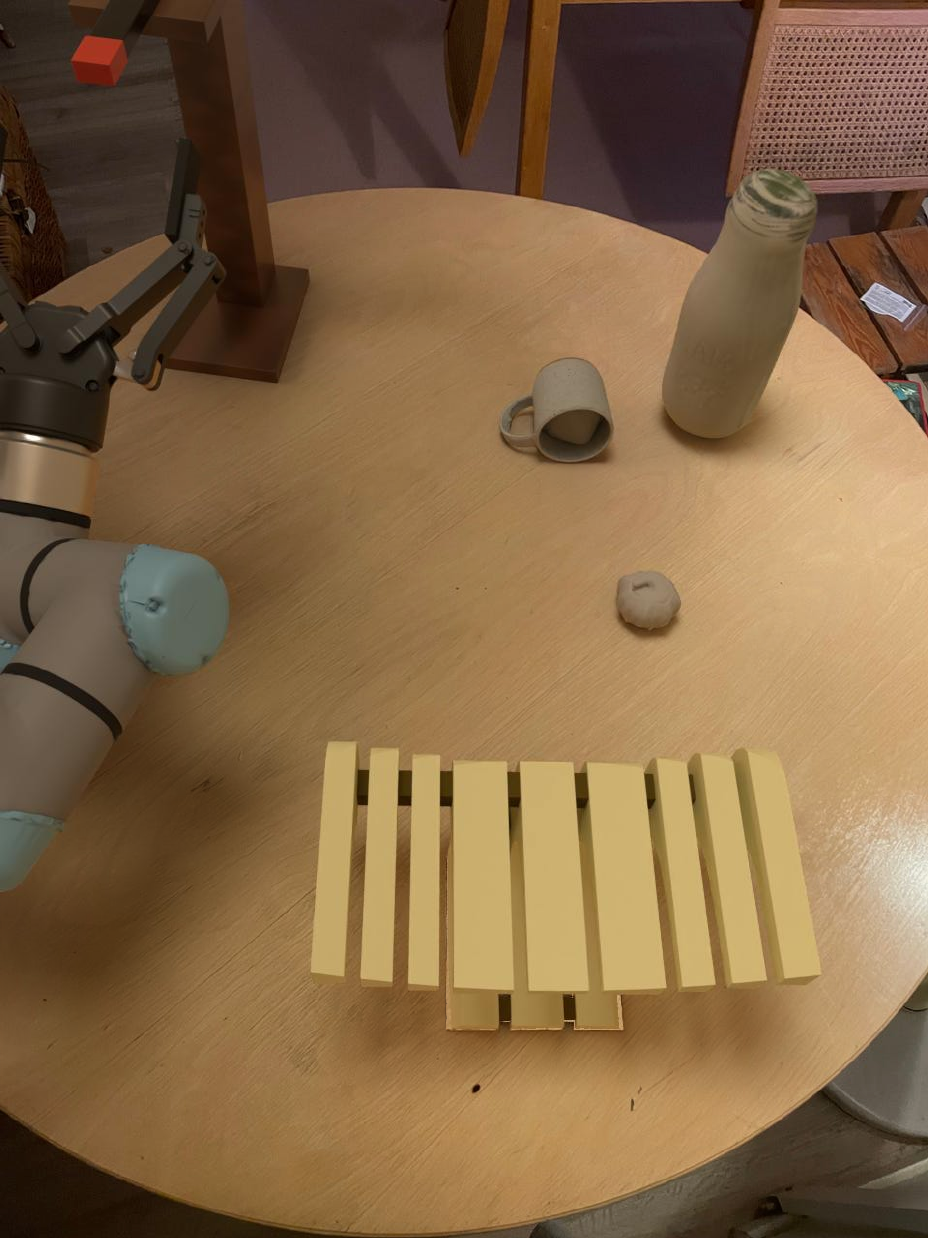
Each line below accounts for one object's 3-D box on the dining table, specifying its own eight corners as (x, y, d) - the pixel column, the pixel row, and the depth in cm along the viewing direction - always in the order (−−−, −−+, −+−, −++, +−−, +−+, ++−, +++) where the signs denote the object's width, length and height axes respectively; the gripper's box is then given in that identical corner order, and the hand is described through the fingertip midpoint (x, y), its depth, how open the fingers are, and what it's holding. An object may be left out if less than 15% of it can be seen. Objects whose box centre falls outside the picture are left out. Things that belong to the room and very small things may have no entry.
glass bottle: (761, 408, 109) (863, 172, 86) (723, 471, 105) (819, 239, 81) (677, 370, 112) (753, 129, 88) (635, 429, 107) (703, 192, 83)
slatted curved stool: (709, 824, 85) (776, 729, 70) (738, 1031, 76) (821, 974, 61) (340, 819, 83) (327, 722, 68) (328, 1030, 75) (310, 972, 60)
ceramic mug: (596, 402, 108) (607, 347, 102) (607, 462, 104) (619, 409, 98) (495, 404, 108) (500, 349, 101) (502, 465, 104) (508, 412, 97)
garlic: (601, 624, 94) (611, 593, 90) (619, 579, 97) (630, 547, 92) (664, 648, 93) (678, 617, 89) (681, 601, 96) (694, 570, 92)
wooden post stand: (158, 381, 107) (53, 2, 75) (204, 266, 116) (129, -116, 84) (273, 397, 107) (217, 23, 74) (309, 280, 116) (275, -97, 84)
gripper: (-107, 430, 73) (-60, 138, 74) (239, 480, 73) (284, 184, 73) (-175, 405, 66) (-121, 80, 67) (210, 460, 65) (261, 131, 66)
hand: (92, 134), depth 70 cm, fingers open, 13 cm apart
